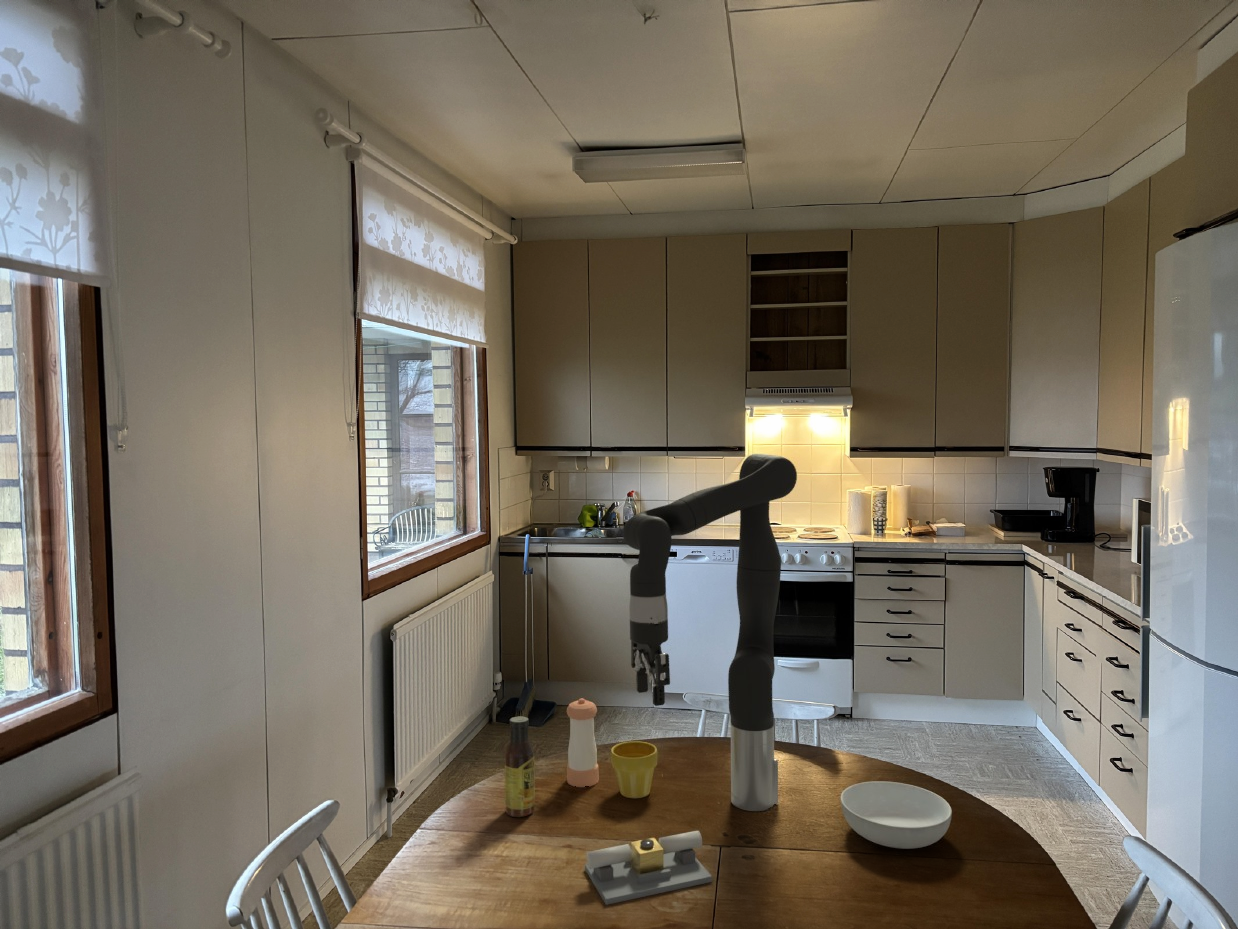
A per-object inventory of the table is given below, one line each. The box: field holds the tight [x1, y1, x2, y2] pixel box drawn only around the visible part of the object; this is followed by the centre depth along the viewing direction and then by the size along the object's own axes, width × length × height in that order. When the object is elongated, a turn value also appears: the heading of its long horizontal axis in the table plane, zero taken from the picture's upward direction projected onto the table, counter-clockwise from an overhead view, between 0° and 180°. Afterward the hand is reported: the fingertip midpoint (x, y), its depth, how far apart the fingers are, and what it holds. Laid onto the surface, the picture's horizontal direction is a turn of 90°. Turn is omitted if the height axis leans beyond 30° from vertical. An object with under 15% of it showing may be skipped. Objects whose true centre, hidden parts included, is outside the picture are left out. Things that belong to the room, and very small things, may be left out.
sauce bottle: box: [504, 715, 536, 818], centre depth 174 cm, size 7×6×20 cm
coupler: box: [630, 837, 664, 875], centre depth 148 cm, size 4×4×5 cm
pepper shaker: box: [566, 697, 600, 788], centre depth 189 cm, size 7×7×19 cm
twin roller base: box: [584, 830, 713, 906], centre depth 148 cm, size 22×12×6 cm, turn 110°
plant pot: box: [610, 740, 658, 799], centre depth 183 cm, size 10×10×10 cm
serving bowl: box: [840, 780, 953, 850], centre depth 162 cm, size 21×21×7 cm
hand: (650, 698), depth 161 cm, fingers open, 8 cm apart
